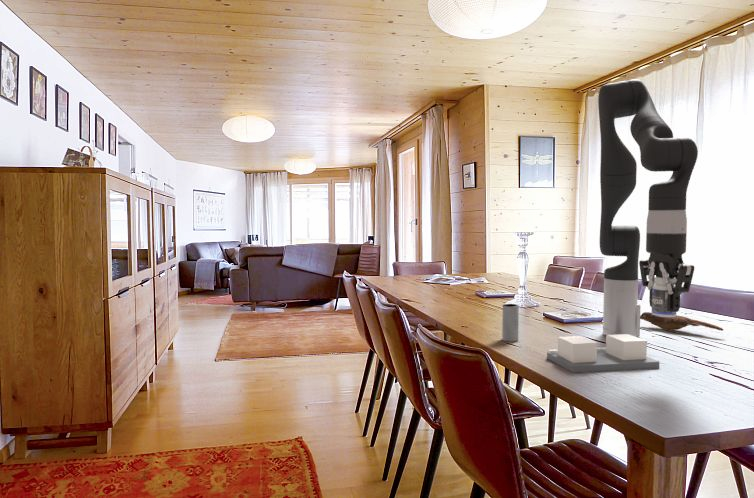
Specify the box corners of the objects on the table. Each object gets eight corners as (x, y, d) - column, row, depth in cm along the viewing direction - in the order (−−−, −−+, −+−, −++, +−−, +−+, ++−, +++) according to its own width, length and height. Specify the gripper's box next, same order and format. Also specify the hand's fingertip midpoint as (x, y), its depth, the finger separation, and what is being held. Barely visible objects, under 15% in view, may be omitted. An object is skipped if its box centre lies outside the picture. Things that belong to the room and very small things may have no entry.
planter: (518, 338, 146) (519, 304, 145) (517, 342, 142) (518, 306, 141) (503, 337, 147) (503, 303, 147) (501, 341, 143) (502, 305, 142)
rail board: (626, 354, 128) (626, 331, 128) (659, 367, 116) (660, 342, 116) (547, 358, 125) (547, 334, 125) (572, 372, 113) (573, 346, 113)
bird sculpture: (720, 340, 143) (721, 323, 143) (630, 326, 162) (630, 311, 162) (726, 336, 148) (727, 320, 147) (638, 323, 166) (639, 309, 166)
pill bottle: (646, 313, 110) (647, 276, 110) (666, 312, 111) (667, 275, 110) (660, 317, 105) (661, 278, 105) (681, 317, 106) (682, 278, 105)
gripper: (708, 232, 100) (705, 314, 101) (658, 230, 114) (656, 303, 116) (675, 232, 99) (672, 316, 100) (628, 230, 113) (626, 304, 114)
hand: (663, 308), depth 108 cm, fingers closed on pill bottle, 4 cm apart
